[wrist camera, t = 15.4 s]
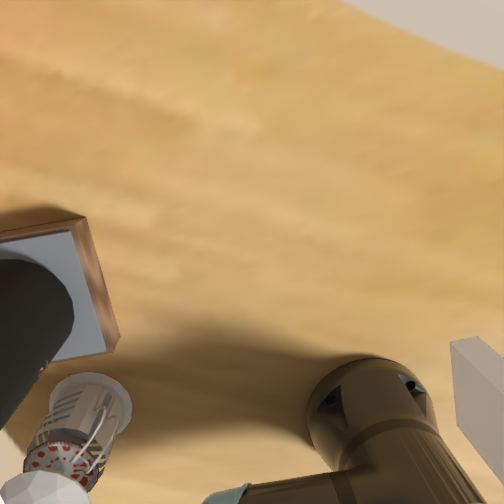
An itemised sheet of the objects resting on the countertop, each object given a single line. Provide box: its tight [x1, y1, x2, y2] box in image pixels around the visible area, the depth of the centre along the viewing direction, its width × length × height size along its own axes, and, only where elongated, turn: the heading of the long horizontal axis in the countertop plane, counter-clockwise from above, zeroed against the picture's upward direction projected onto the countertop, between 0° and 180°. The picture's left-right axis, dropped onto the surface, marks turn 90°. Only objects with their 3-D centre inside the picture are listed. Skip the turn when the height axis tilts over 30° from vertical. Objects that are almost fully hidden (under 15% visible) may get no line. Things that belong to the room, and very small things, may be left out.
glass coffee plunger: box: [0, 372, 133, 504], centre depth 38 cm, size 10×12×25 cm
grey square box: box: [0, 217, 120, 364], centre depth 44 cm, size 14×14×4 cm
